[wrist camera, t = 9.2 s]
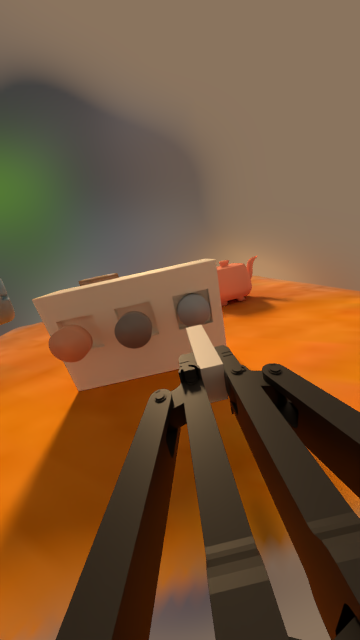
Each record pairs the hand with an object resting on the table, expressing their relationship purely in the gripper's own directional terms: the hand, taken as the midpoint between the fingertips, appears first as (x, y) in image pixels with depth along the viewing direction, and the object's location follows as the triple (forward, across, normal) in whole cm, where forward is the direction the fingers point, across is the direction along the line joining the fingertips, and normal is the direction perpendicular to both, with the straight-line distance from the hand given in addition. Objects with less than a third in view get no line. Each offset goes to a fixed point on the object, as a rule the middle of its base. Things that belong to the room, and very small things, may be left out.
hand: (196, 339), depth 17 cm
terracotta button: (+6, -15, -2) cm, 16 cm away
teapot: (+38, +16, -9) cm, 43 cm away
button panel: (+11, -7, -9) cm, 15 cm away
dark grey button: (+8, +1, -2) cm, 9 cm away
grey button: (+6, -7, -2) cm, 9 cm away
